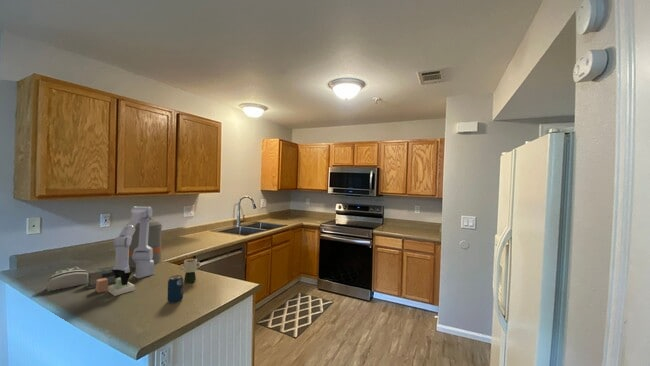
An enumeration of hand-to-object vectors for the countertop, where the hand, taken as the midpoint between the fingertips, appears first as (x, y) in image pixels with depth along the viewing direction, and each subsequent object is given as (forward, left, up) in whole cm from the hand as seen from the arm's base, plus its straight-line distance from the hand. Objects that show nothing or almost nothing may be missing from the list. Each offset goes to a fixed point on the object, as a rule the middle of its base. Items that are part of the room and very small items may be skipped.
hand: (121, 283), depth 145 cm
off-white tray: (0, 0, -4) cm, 4 cm away
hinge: (+15, -29, -5) cm, 33 cm away
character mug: (-29, +17, -4) cm, 34 cm away
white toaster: (+9, -47, -5) cm, 49 cm away
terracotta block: (+6, -8, -4) cm, 11 cm away
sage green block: (0, 0, -3) cm, 3 cm away
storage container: (-29, -44, -4) cm, 53 cm away
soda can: (-11, +35, -4) cm, 36 cm away
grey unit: (0, -20, -4) cm, 21 cm away
